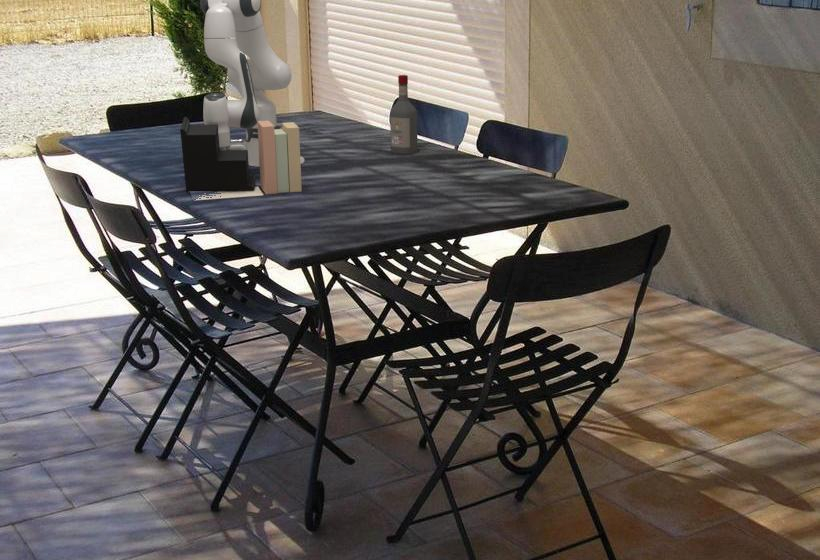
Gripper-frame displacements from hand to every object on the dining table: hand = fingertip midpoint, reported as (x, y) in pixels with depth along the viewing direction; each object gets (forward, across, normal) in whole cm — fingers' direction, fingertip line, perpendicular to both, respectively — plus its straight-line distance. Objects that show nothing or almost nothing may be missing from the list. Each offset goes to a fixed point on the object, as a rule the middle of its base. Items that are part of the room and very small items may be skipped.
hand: (219, 179), depth 427 cm
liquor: (+2, -76, -36) cm, 84 cm away
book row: (+2, -20, +14) cm, 24 cm away
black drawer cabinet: (+1, 0, +6) cm, 6 cm away
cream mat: (+2, 0, +14) cm, 14 cm away
